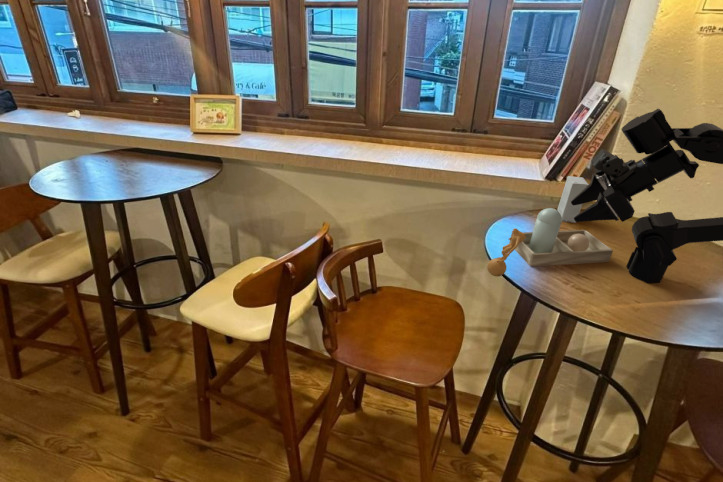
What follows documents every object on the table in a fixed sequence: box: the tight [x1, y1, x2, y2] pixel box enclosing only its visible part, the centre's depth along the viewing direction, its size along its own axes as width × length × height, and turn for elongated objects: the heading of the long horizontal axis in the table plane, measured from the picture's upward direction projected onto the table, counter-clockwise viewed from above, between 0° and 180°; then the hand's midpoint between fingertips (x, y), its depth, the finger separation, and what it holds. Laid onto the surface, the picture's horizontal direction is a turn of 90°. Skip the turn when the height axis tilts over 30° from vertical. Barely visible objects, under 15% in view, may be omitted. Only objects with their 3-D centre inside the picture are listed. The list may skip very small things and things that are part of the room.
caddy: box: [508, 229, 614, 267], centre depth 96 cm, size 10×20×4 cm, turn 99°
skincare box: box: [556, 175, 590, 224], centre depth 112 cm, size 6×4×12 cm
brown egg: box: [568, 234, 589, 251], centre depth 97 cm, size 5×5×5 cm
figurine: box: [486, 228, 526, 277], centre depth 86 cm, size 8×6×12 cm
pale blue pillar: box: [529, 207, 563, 253], centre depth 93 cm, size 5×5×12 cm
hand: (573, 211), depth 89 cm, fingers open, 9 cm apart
